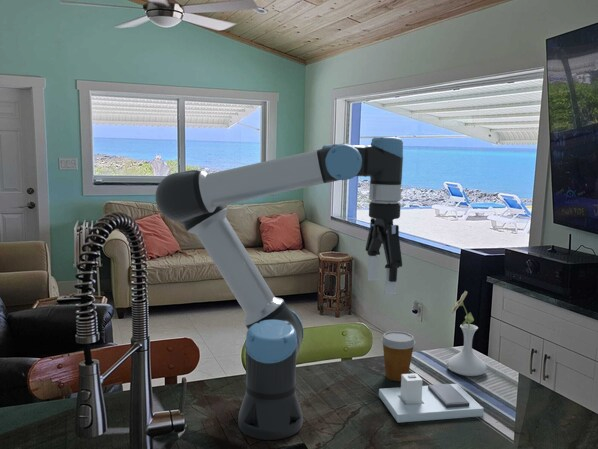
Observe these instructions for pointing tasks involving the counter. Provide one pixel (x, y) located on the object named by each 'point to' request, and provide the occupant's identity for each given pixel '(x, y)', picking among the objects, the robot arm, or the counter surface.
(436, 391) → the phone
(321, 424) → the counter surface
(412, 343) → the disposable coffee cup
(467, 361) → the flower in vase
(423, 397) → the outlet board
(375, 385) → the counter surface
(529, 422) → the counter surface
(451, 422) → the counter surface
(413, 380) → the block
